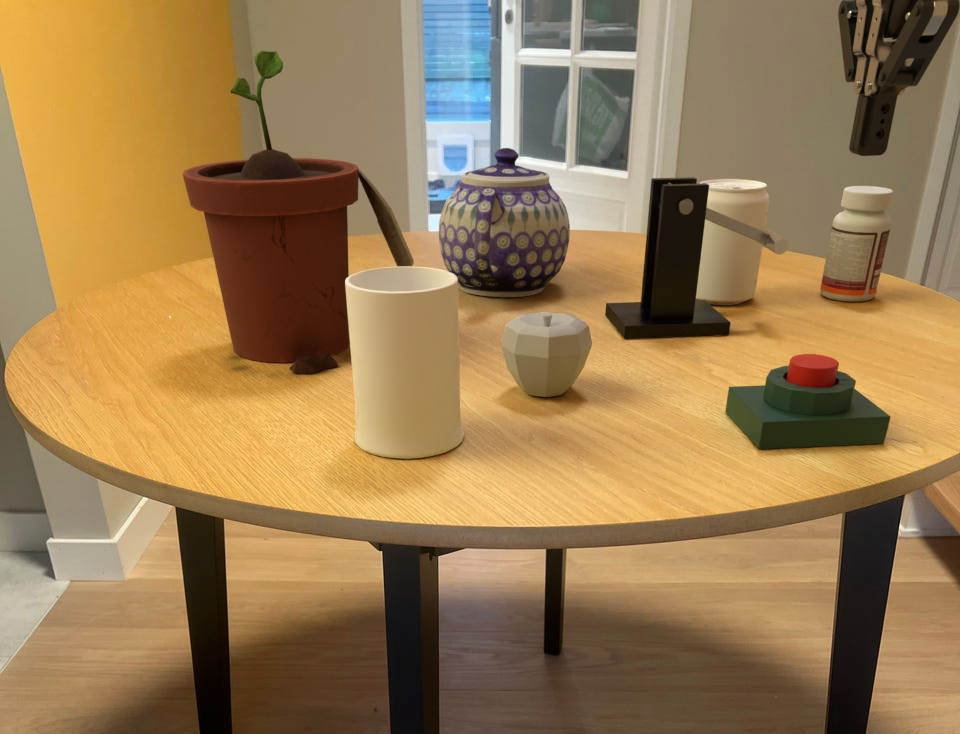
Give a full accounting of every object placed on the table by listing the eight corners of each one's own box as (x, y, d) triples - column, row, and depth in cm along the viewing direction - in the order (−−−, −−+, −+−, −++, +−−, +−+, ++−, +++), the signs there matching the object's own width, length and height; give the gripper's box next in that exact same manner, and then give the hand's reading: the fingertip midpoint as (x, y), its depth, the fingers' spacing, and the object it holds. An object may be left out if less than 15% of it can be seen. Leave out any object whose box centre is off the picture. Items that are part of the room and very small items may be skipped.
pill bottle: (853, 287, 112) (874, 183, 106) (886, 300, 107) (911, 191, 101) (808, 291, 111) (827, 186, 105) (839, 304, 106) (862, 195, 100)
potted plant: (264, 314, 104) (229, 47, 90) (451, 329, 99) (445, 48, 85) (179, 363, 90) (121, 55, 76) (392, 382, 85) (372, 56, 71)
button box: (840, 407, 79) (850, 359, 77) (884, 443, 72) (897, 392, 70) (724, 412, 78) (731, 364, 76) (758, 449, 72) (767, 398, 69)
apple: (593, 407, 79) (598, 328, 76) (499, 406, 79) (500, 328, 76) (586, 376, 86) (590, 302, 82) (499, 376, 86) (500, 302, 82)
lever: (763, 250, 99) (774, 227, 98) (781, 261, 95) (793, 237, 94) (653, 204, 95) (663, 179, 94) (667, 213, 91) (678, 187, 90)
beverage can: (742, 310, 104) (759, 192, 97) (672, 301, 108) (684, 186, 101) (762, 294, 110) (780, 181, 103) (696, 286, 113) (709, 176, 107)
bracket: (702, 311, 104) (720, 173, 96) (729, 335, 96) (750, 187, 89) (605, 315, 103) (614, 175, 95) (623, 338, 96) (635, 190, 88)
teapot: (544, 319, 102) (549, 165, 93) (409, 310, 105) (403, 161, 97) (584, 267, 122) (591, 137, 113) (470, 261, 125) (469, 134, 117)
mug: (372, 403, 80) (362, 254, 74) (472, 405, 80) (470, 256, 73) (344, 458, 71) (329, 292, 64) (458, 461, 70) (454, 294, 63)
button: (823, 374, 75) (827, 352, 74) (842, 390, 72) (846, 367, 71) (779, 376, 75) (783, 354, 74) (796, 391, 72) (800, 369, 71)
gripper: (1045, -170, 54) (963, 165, 64) (929, -142, 65) (874, 141, 75) (920, -169, 53) (857, 169, 63) (824, -141, 64) (782, 144, 74)
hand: (866, 153), depth 69 cm, fingers closed
